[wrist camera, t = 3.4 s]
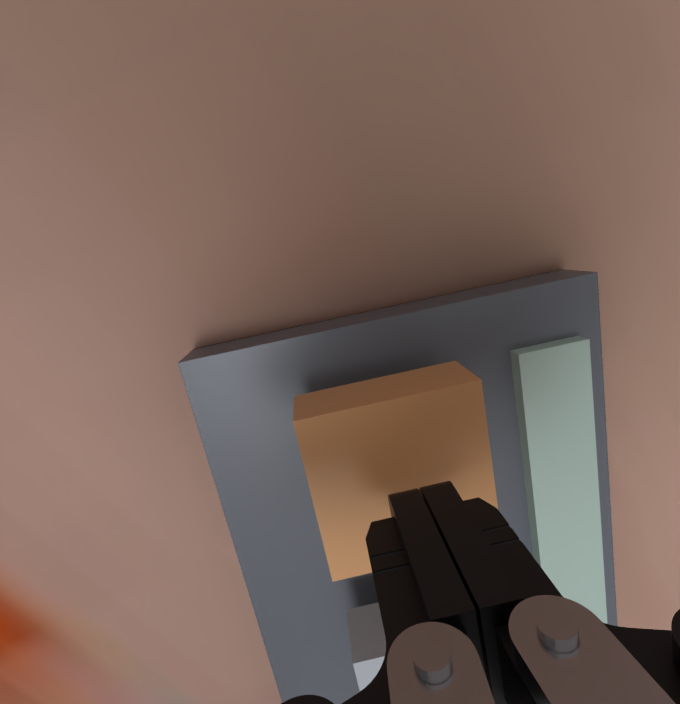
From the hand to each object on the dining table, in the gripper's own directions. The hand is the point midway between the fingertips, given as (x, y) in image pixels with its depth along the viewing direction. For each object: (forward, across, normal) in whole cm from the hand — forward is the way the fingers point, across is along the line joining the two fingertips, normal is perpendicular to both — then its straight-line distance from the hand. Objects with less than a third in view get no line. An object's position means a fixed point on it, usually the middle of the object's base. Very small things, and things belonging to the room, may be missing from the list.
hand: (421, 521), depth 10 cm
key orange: (+4, 0, 0) cm, 4 cm away
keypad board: (+7, -1, +8) cm, 11 cm away
